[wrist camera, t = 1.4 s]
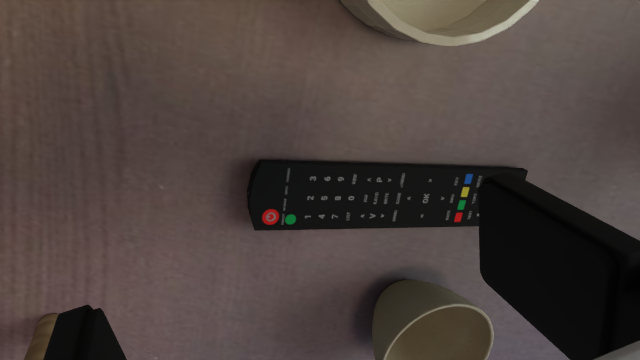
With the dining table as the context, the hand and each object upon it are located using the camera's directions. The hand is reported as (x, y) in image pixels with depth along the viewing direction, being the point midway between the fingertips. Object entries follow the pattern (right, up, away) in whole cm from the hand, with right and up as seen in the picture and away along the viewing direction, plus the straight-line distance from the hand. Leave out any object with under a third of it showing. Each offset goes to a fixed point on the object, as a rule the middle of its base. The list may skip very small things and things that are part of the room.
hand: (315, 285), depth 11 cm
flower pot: (+7, -9, +32) cm, 34 cm away
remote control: (+6, +2, +27) cm, 28 cm away
